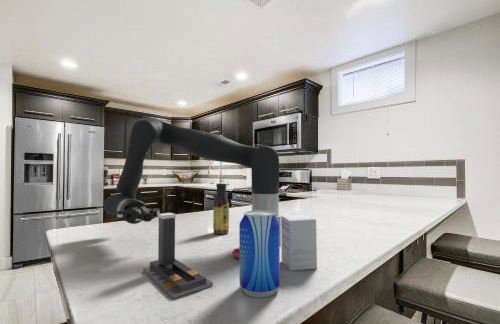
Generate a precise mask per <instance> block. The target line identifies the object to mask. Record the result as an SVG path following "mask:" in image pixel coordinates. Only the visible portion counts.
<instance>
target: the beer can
mask: <svg viewBox="0 0 500 324" xmlns="http://www.w3.org/2000/svg"><path fill="white" fill-rule="evenodd" d="M238 227H239V233H238V234H239V239H238V240H239V244H238V245H239V246H238V247H239V248H238V249H240V259H239V286H240V288H241V289H242V291H243V293H244V294H246V295H247V296H249V297H253V298H268V297H271V296H273V295H275V293H276V291H278V288H280V283H281V280H280V279H281V278H280V277H281V275H280V274H281V273H280V272H281V270H280V269H281V268H280V266H281V265H280V264H281V263H280V262H281V261H280V259H281V258H280V257H281V256H280V250H281V249H280V246H281V245H279V222H278V221H277V219H276V217H275V213H274V212H272V211H263V210H256V211H252V210H249V211H248V210H247V211H245V212H243V217H242V218H241V219H240V221H239V226H238Z"/></svg>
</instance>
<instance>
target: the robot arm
mask: <svg viewBox="0 0 500 324" xmlns="http://www.w3.org/2000/svg"><path fill="white" fill-rule="evenodd" d="M156 144H163V145H168V146H174V147H177V148H180V149H181V150H182V151H184V152H187V153H188V154H190V155H193V156H194V157H198V158H201V159H204V160H205V159H206V160H210V161H214V162H221V163H229V164H236V165H240V166H243V167H245V168H249V169H251V211H256V210H263V211H272V212H274V213H275V217H276V219H277V221H278V222H279V246H282V238H281V216H280V206H279V205H280V203H279V199H280V197H279V196H280V194H279V193H280V192H279V189H280V157H279V154H278V152H277V151H276V149H275V148H273V147H272V146H269V145H261V146H252V145H247V144H246V145H245V144H242V143H240V142H236V141H234V140H232V139H229V138H228V137H224V136H222V135H218V134H216V133H212V132H207V131H203V130H197V129H193V128H186V127H180V126H177V125H174V124H171V123H168V122H166V121H163V120H160V119H157V118H154V117H153V118H152V117H151V118H150V117H149V118H143V119H139V120H137V121H136V122H135V123H133V125H132V128H131V132H130V136H129V142H128V147H127V153H126V157H125V161H124V165H123V168H122V171H121V174H120V176H119V179H118V181H117V184H116V187H115V189H116V192H118V193H119V194H120V195H116V194H113V195H112V194H111V195H109V196H108V197H107V198H106V199H105V200H104V203H103V208H104V211H105V213H106V214H108V215H112V216H116V220H117V221H125V222H127V223H128V224H132V225H136V224H139V223H141V222H144V223H146V222H152V220H154V219H156V218H159V217H158V214H160V207H156V208H153V209H152V208H148V206H147V205H146V203H144V201H141V200H139V199H136V196H137V190H138V188H139V186H140V183H141V181H142V178H143V173H144V160H145V157H146V156H147V153H148V152H149V149H151V147H152V146H153V145H156Z"/></svg>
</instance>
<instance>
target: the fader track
mask: <svg viewBox="0 0 500 324" xmlns="http://www.w3.org/2000/svg"><path fill="white" fill-rule="evenodd" d="M170 264H172V265H173V268H172V269H168V268H167V267H165V266H164V265H162V264H161V263H159V262H158V259H157V260H152V261H150V262H149V266H148V267H147V266H146V267H144V268H142V269H143V270H142V273H144V274H145V275H146V276H147V277H148V278H150V279H151V280H152V281H153V282H154V283H155V284H156V285H157V286H158V287H159V288H160V289H161V290H162V291H163V292H165V293H166V295H168V296H169V297H170V298H171V299H172V300H175V299H178V298H181V297H183V296H187V295H189V294H192V293H195V292H198V291H202V290H205V289H208V288H211V287H214V286H213V285H214V281H212V280H210V279H209V278H207V276H204V275H202V274H201V273H200V272H198V271H196V270H194V269H192V268H191V267H189V266H188V265H186V264H184V263H183V262H181V261H180V260H179V259H176V258H175V262H173V263H170Z"/></svg>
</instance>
